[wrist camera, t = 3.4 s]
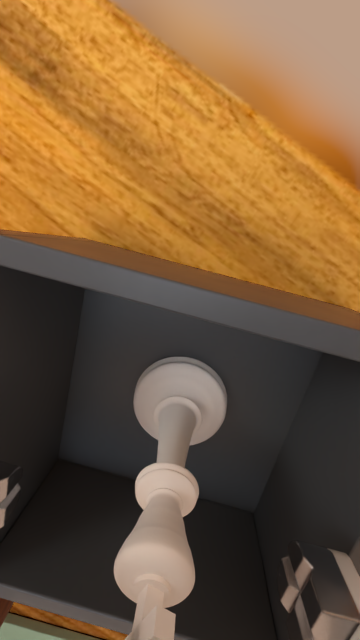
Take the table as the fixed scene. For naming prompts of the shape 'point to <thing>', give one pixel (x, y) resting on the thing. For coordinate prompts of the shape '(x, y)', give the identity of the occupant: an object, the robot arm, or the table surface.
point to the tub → (141, 448)
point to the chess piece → (167, 490)
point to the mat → (35, 630)
